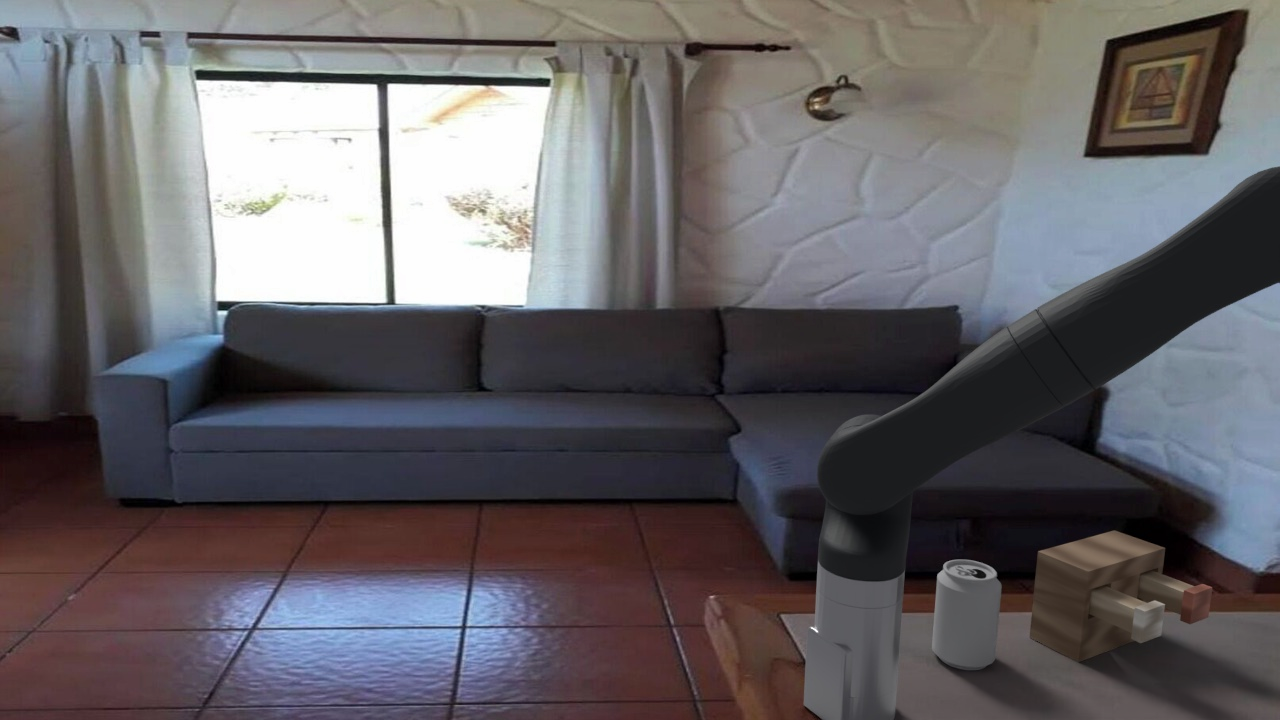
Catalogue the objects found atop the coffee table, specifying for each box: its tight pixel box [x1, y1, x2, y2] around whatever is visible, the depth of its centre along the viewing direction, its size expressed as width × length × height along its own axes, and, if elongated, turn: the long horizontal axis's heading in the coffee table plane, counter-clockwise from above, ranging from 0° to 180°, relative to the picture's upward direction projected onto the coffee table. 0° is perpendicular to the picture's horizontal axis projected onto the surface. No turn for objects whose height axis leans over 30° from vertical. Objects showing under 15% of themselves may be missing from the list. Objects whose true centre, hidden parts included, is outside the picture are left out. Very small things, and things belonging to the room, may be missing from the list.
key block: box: [1029, 530, 1166, 663], centre depth 113 cm, size 16×7×12 cm, turn 119°
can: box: [931, 559, 1002, 671], centre depth 107 cm, size 8×8×12 cm
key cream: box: [1089, 585, 1166, 644], centre depth 106 cm, size 4×9×4 cm, turn 29°
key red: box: [1137, 570, 1213, 625], centre depth 111 cm, size 4×9×4 cm, turn 29°
